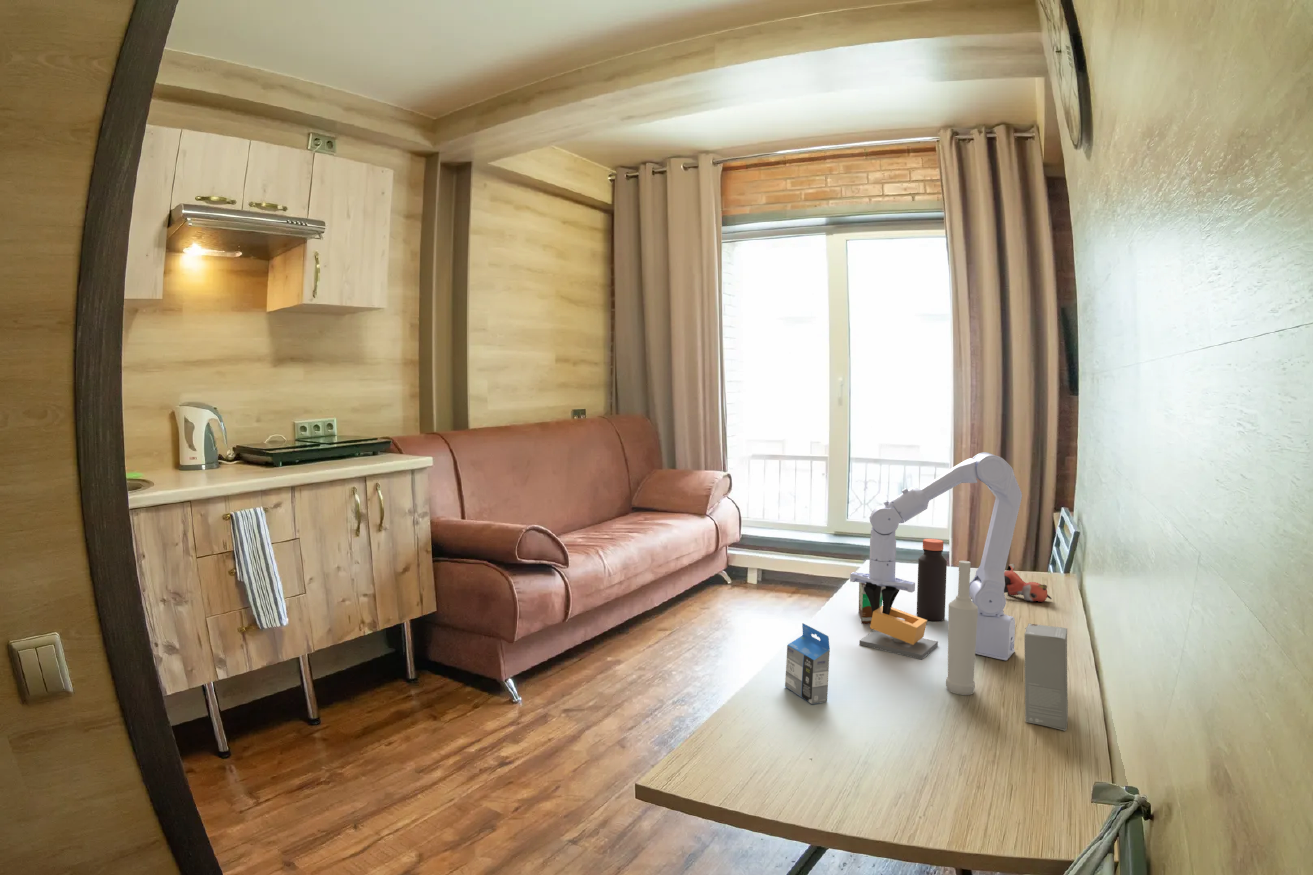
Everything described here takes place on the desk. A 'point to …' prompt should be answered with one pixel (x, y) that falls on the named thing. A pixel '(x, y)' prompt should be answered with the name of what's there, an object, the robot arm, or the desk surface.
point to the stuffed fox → (1024, 587)
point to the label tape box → (808, 666)
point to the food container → (866, 605)
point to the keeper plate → (898, 644)
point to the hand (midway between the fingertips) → (880, 617)
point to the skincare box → (1046, 676)
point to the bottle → (962, 636)
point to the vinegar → (931, 581)
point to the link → (899, 625)
